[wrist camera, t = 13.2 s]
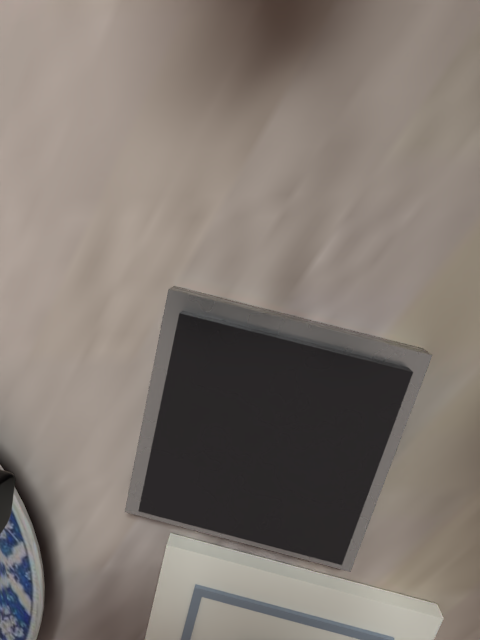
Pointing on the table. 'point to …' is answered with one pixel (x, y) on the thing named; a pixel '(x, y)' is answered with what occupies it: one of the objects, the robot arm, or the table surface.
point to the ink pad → (270, 427)
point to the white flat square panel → (274, 601)
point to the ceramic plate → (20, 577)
